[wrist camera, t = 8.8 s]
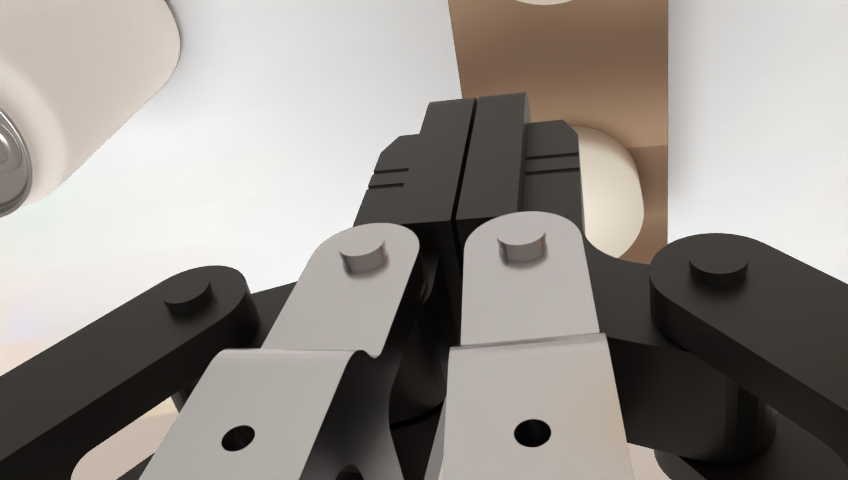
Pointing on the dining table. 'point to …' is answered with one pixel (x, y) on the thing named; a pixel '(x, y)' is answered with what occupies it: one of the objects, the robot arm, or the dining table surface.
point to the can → (73, 83)
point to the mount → (580, 78)
